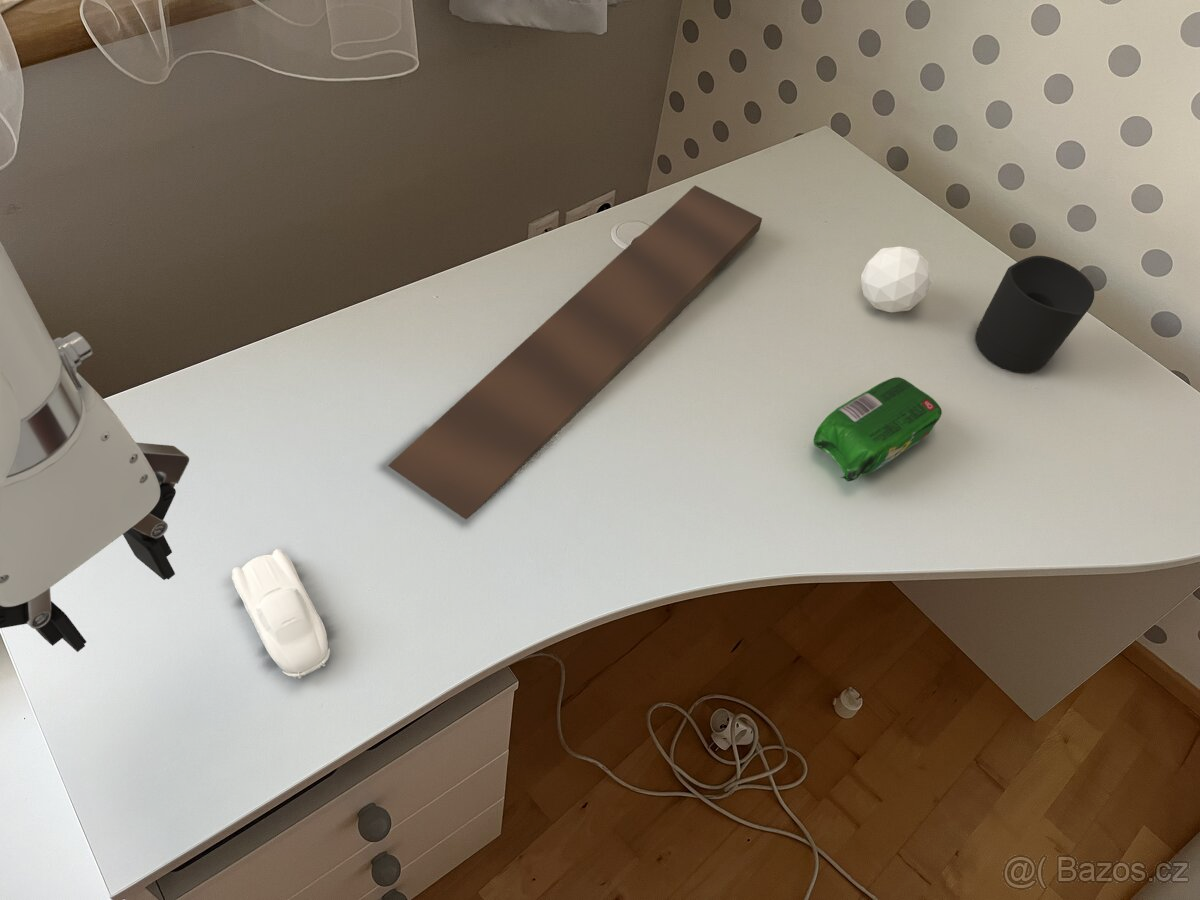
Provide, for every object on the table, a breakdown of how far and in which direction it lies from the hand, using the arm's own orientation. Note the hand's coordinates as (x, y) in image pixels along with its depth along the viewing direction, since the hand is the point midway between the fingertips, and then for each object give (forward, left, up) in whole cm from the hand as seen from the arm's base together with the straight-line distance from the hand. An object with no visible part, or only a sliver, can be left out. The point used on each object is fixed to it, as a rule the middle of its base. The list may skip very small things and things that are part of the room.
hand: (112, 598), depth 56 cm
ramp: (+55, 0, -20) cm, 58 cm away
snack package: (+61, -31, -18) cm, 71 cm away
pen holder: (+86, -38, -18) cm, 96 cm away
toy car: (+10, 0, -18) cm, 20 cm away
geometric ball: (+83, -23, -18) cm, 88 cm away
